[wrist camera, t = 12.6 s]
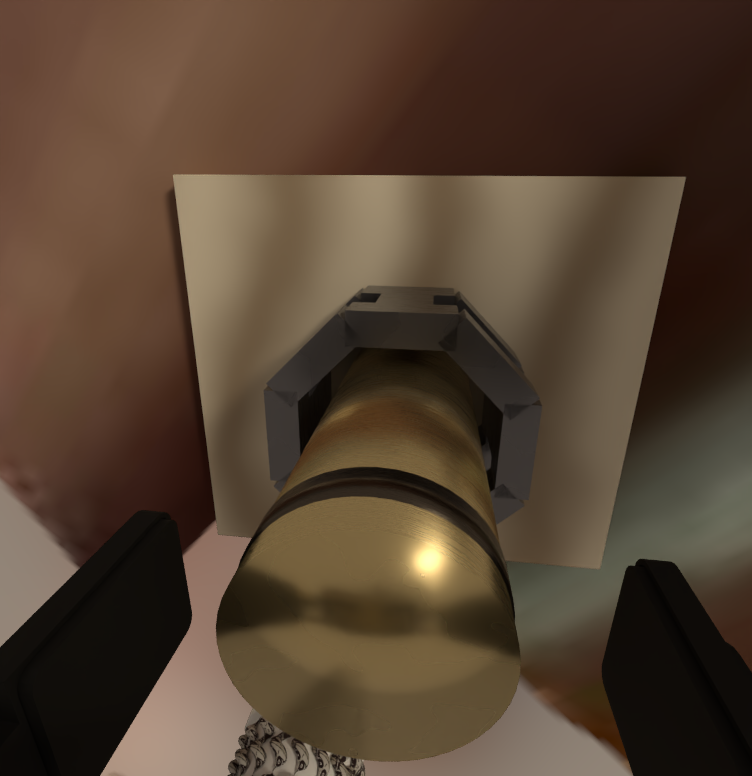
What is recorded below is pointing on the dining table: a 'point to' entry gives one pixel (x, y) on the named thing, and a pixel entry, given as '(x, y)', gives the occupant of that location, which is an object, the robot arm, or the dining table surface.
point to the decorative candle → (285, 754)
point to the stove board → (442, 270)
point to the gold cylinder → (379, 575)
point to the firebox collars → (416, 332)
